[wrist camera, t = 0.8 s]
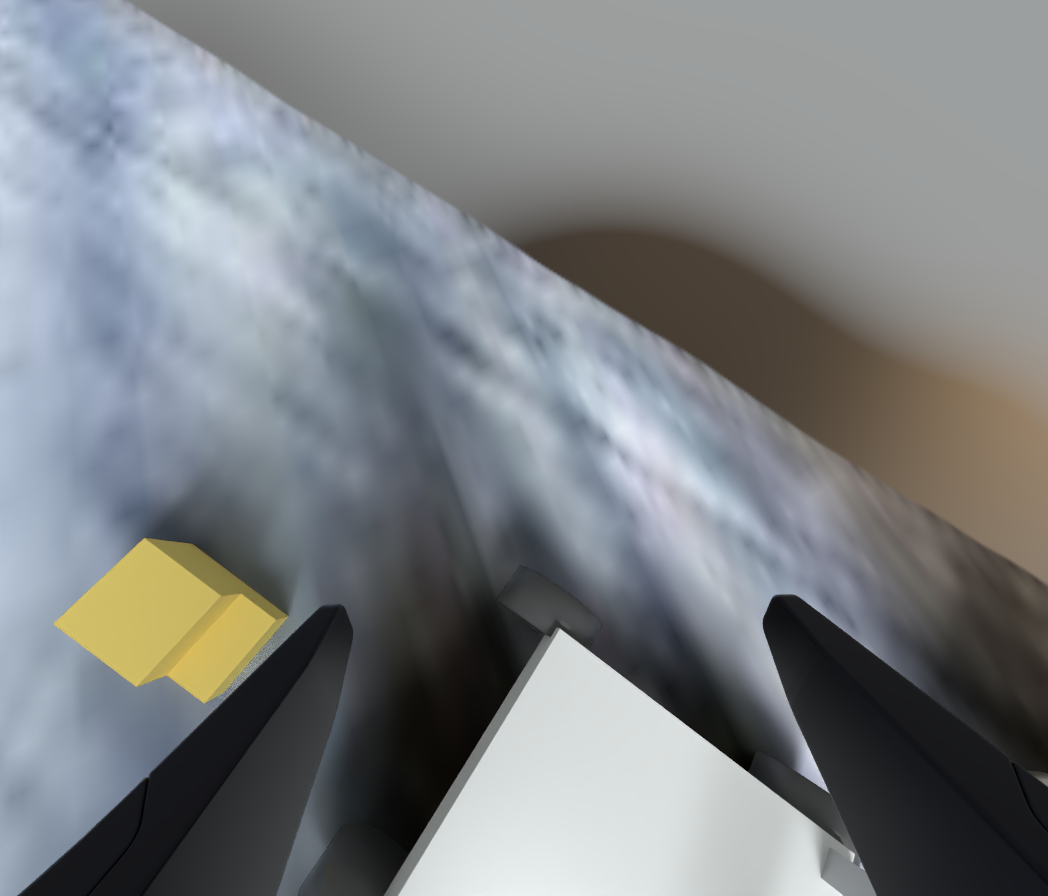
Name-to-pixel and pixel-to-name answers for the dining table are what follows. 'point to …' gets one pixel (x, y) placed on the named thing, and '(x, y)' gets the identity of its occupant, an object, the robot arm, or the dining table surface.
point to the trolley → (600, 797)
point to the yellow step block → (173, 619)
